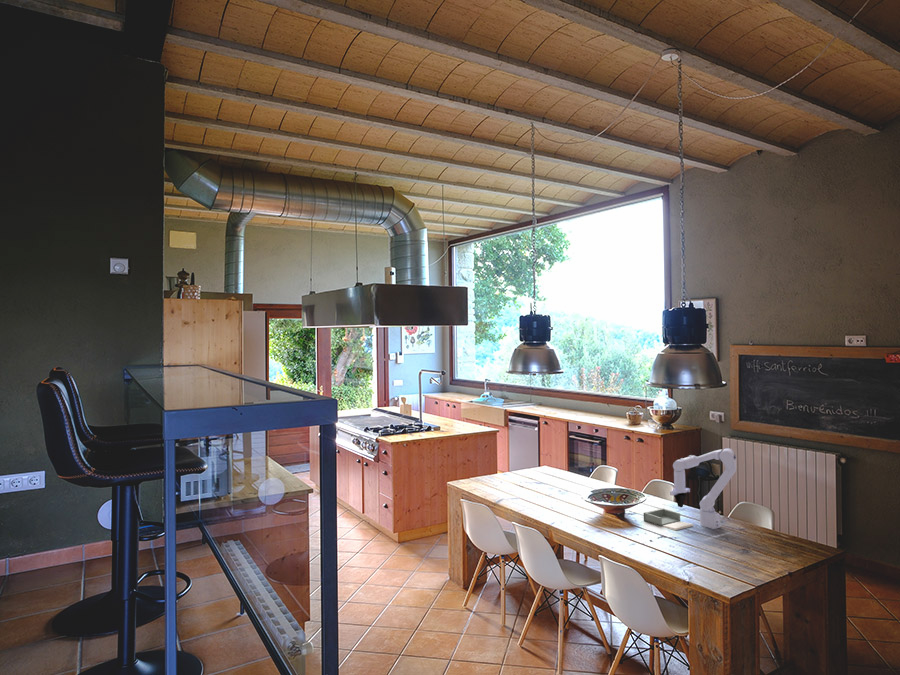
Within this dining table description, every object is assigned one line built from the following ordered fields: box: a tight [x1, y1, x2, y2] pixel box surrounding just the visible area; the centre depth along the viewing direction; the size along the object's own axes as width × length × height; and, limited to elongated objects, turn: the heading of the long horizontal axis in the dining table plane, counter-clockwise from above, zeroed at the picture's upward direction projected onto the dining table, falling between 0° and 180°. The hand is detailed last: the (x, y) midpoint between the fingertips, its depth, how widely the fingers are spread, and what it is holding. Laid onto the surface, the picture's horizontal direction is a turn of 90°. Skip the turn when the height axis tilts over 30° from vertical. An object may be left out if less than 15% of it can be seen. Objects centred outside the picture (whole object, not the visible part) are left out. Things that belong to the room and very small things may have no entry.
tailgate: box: [662, 520, 694, 531], centre depth 290 cm, size 8×14×1 cm, turn 119°
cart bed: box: [643, 508, 681, 527], centre depth 298 cm, size 11×16×5 cm
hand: (680, 506), depth 298 cm, fingers closed
